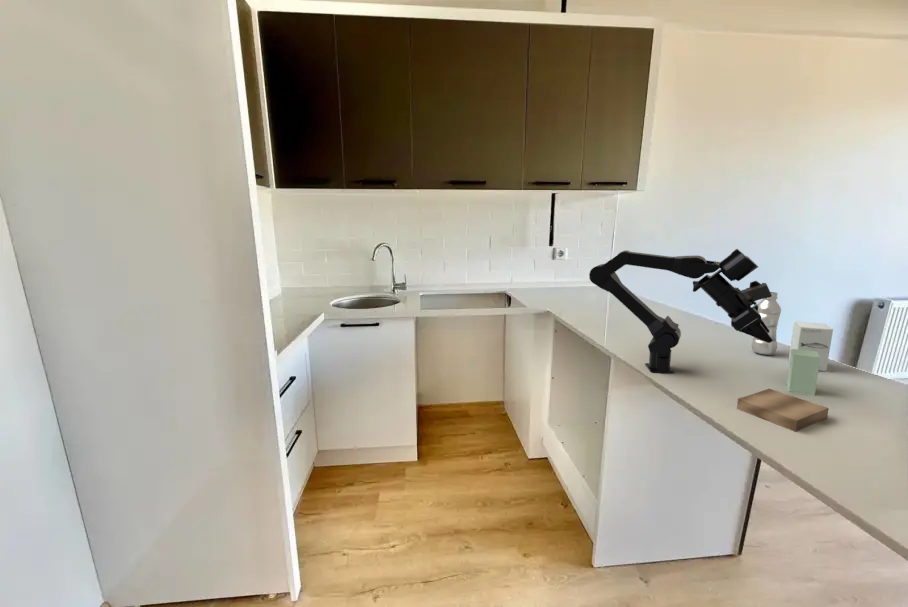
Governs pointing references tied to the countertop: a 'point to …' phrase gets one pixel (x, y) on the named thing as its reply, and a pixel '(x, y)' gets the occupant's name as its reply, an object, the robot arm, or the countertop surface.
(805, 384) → the sage block
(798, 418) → the walnut plinth
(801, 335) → the supplement box
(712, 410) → the countertop surface
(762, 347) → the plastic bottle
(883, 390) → the countertop surface
